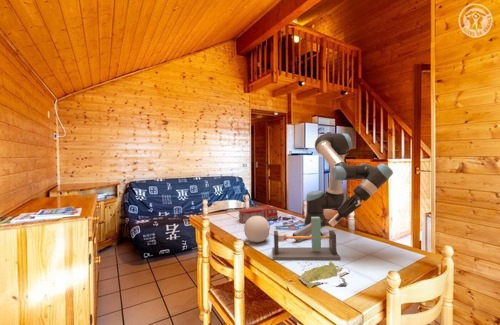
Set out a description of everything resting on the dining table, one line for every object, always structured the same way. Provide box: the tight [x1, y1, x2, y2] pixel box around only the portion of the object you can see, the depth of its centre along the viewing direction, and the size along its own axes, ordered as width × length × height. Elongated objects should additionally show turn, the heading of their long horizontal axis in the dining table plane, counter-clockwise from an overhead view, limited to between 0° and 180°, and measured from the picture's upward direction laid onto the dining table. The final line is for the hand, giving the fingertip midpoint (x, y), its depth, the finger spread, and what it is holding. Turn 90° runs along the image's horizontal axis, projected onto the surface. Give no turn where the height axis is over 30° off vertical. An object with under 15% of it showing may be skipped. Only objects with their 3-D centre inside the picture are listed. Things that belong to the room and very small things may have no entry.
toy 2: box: [243, 216, 271, 243], centre depth 143 cm, size 15×15×15 cm
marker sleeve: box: [311, 217, 322, 250], centre depth 122 cm, size 4×3×16 cm
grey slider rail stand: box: [271, 229, 341, 261], centre depth 122 cm, size 32×12×12 cm, turn 85°
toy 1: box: [238, 205, 279, 224], centre depth 189 cm, size 10×30×10 cm, turn 106°
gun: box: [292, 219, 325, 243], centre depth 146 cm, size 2×25×10 cm, turn 121°
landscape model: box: [297, 261, 351, 289], centre depth 99 cm, size 24×15×2 cm, turn 123°
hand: (330, 224), depth 121 cm, fingers closed
